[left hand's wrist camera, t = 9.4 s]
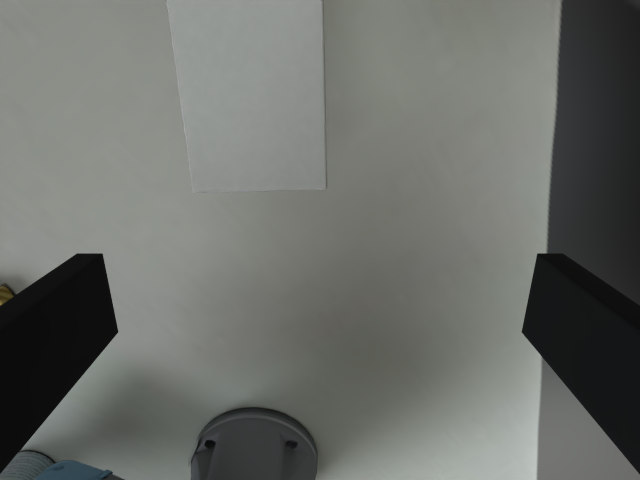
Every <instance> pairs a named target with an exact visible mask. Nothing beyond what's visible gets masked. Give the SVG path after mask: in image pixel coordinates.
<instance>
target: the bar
mask: <svg viewBox="0 0 640 480" xmlns="http://www.w3.org/2000/svg"><path fill="white" fill-rule="evenodd" d="M166 1H167V8H168V15H169V23H170V30H171V37H172V44H173V51H174V59H175V66H176V73H177V80H178V87H179V95H180V102H181V109H182V116H183V123H184V131H185V138H186V145H187V152H188V159H189V167H190V174H191V181H192V188H193V192H194V193H215V192H252V191H289V190H325V189H327V155H326V104H325V54H324V4H323V0H166Z"/></svg>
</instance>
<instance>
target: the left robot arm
mask: <svg viewBox="0 0 640 480" xmlns="http://www.w3.org/2000/svg"><path fill="white" fill-rule="evenodd" d="M117 333H118V328H117V323H116V318H115V313H114V308H113V303H112V298H111V293H110V288H109V283H108V278H107V273H106V268H105V264H104V259H103V254H76V255H74V256H73V257H71V258H70V259H68V260H67V261H65V262H64V263H63V264H61V265H60V266H58V267H57V268H55V269H54V270H52V271H51V272H49V273H48V274H46V275H45V276H43V277H42V278H40V279H39V280H37V281H36V282H35V283H33V284H32V285H30V286H29V287H27V288H26V289H24V290H23V291H21V292H20V293H18V294H17V295H15V296H14V297H12V298H11V299H9V300H8V301H6V302H5V303H4V304H2V305H1V306H0V474H1V473H2V472H3V470H4V469H5V468H6V467H7V465H8V464H9V463H10V462H11V461H12V459H13V458H14V457H15V456H16V455H17V453H18V452H19V451H20V450H21V449H22V447H23V446H24V445H25V444H26V443H27V441H28V440H29V439H30V438H31V437H32V435H33V434H34V433H35V432H36V431H37V429H38V428H39V427H40V426H41V425H42V423H43V422H44V421H45V420H46V419H47V417H48V416H49V415H50V414H51V412H52V411H53V410H54V409H55V408H56V406H57V405H58V404H59V403H60V402H61V400H62V399H63V398H64V397H65V396H66V394H67V393H68V392H69V391H70V390H71V388H72V387H73V386H74V385H75V384H76V382H77V381H78V380H79V379H80V378H81V376H82V375H83V374H84V373H85V372H86V370H87V369H88V368H89V367H90V366H91V364H92V363H93V362H94V361H95V359H96V358H97V357H98V356H99V355H100V353H101V352H102V351H103V350H104V349H105V347H106V346H107V345H108V344H109V343H110V341H111V340H112V339H113V338H114V337H115V335H116V334H117ZM522 333H523V334H524V335H525V337H526V338H527V339H528V340H529V341H530V343H531V344H532V345H533V346H534V347H535V349H536V350H537V351H538V352H539V353H540V355H541V356H542V357H543V358H544V359H545V361H546V362H547V363H548V364H549V365H550V367H551V368H552V369H553V370H554V372H555V373H556V374H557V375H558V376H559V378H560V379H561V380H562V381H563V382H564V384H565V385H566V386H567V387H568V388H569V390H570V391H571V392H572V393H573V394H574V396H575V397H576V398H577V399H578V400H579V402H580V403H581V404H582V405H583V406H584V408H585V409H586V410H587V411H588V412H589V414H590V415H591V416H592V417H593V418H594V420H595V421H596V422H597V423H598V425H599V426H600V427H601V428H602V429H603V431H604V432H605V433H606V434H607V435H608V437H609V438H610V439H611V440H612V441H613V443H614V444H615V445H616V446H617V447H618V449H619V450H620V451H621V452H622V453H623V455H624V456H625V457H626V458H627V459H628V461H629V462H630V463H631V464H632V465H633V467H634V468H635V469H636V470H637V472H638V473H639V474H640V306H639V305H638V304H636V303H635V302H633V301H632V300H631V299H629V298H628V297H626V296H625V295H623V294H622V293H620V292H619V291H617V290H616V289H614V288H613V287H611V286H610V285H608V284H607V283H605V282H604V281H603V280H601V279H600V278H598V277H597V276H595V275H594V274H592V273H591V272H589V271H588V270H586V269H585V268H583V267H582V266H580V265H579V264H577V263H576V262H574V261H573V260H572V259H570V258H569V257H567V256H566V255H564V254H537V258H536V263H535V268H534V273H533V278H532V283H531V288H530V293H529V298H528V303H527V308H526V313H525V318H524V323H523V328H522ZM191 459H192V460H191ZM190 461H191V480H315V478H316V473H317V450H316V446H315V443H314V441H313V439H312V437H311V436H310V434H309V433H308V432H307V431H306V430H305V428H304V427H303V426H301V425H300V424H299V423H298V422H296V421H295V420H293V419H291V418H290V417H288V416H286V415H283V414H281V413H278V412H275V411H271V410H266V409H255V408H251V409H240V410H235V411H231V412H228V413H225V414H223V415H221V416H219V417H217V418H215V419H214V420H212V421H211V422H210V423H209V424H207V425H206V426H205V428H204V429H203V430H202V431H201V433H200V434H199V437H198V439H197V441H196V444H195V446H194V449H193V451H192V453H191V455H190V458H189V463H188V466H189V464H190ZM112 473H113V472H112V471H110V470H105V471H103V470H100V469H97V468H94V467H92V466H89V465H86V464H83V463H80V462H77V461H74V460H65V461H61V462H58V463H55V464H53V465H52V466H50V467H48V468H47V469H45V470H44V471H43V472H42V473H41V474H39V475H38V476H37V477H36V478H35V479H34V480H124V479H122V478H119V477H117V476H115V475H113V474H112Z"/></svg>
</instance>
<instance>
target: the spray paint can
mask: <svg viewBox="0 0 640 480" xmlns="http://www.w3.org/2000/svg"><path fill="white" fill-rule="evenodd" d="M53 464H54V463H53V462H52V461H51V460H50V459H48V458H47V457H45V456H44V455H41V454H39V453H36V452H29V451H25V452H19V453H17V455H16V456H15V457H14V458H13V459H12V461H11V462H10V463H9V464H8V465H7V467H6V468H5V469H4V470H3V472H2V473H1V474H0V480H34V479H35V478H36V477H37V476H38V475H39V474H41V473H42V472H43V471H44V470H45V469H47V468H48V467H50V466H52V465H53Z"/></svg>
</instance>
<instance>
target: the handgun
mask: <svg viewBox="0 0 640 480" xmlns="http://www.w3.org/2000/svg"><path fill="white" fill-rule="evenodd" d="M12 297H14V296H13V295H12V293H11V292H10V291H9V290H8V289H7V288H6V287H4V286H0V306H1V305H2V304H4V303H5V302H6V301H8V300H9V299H11V298H12Z"/></svg>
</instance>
